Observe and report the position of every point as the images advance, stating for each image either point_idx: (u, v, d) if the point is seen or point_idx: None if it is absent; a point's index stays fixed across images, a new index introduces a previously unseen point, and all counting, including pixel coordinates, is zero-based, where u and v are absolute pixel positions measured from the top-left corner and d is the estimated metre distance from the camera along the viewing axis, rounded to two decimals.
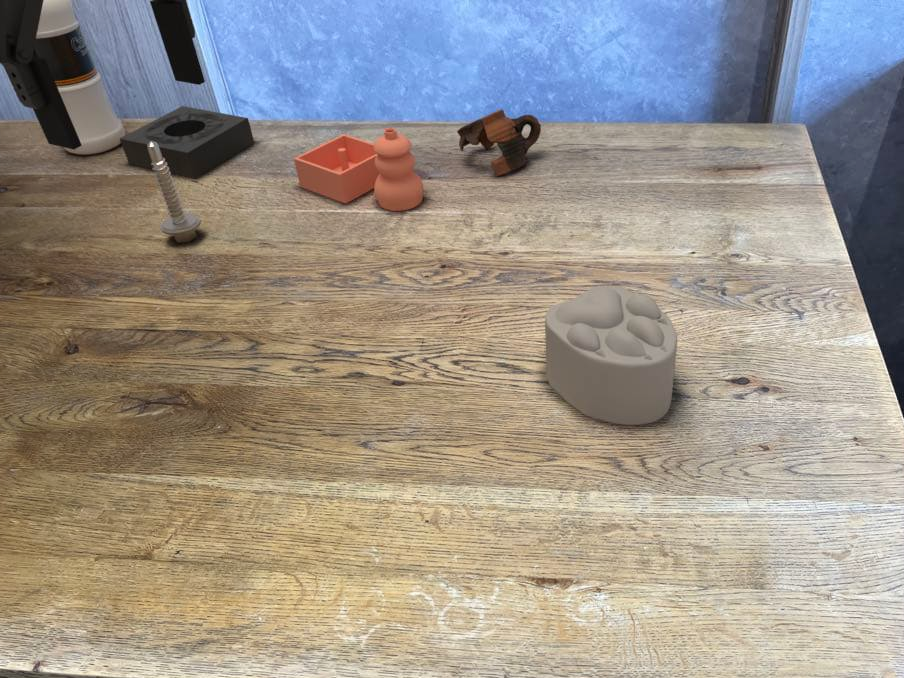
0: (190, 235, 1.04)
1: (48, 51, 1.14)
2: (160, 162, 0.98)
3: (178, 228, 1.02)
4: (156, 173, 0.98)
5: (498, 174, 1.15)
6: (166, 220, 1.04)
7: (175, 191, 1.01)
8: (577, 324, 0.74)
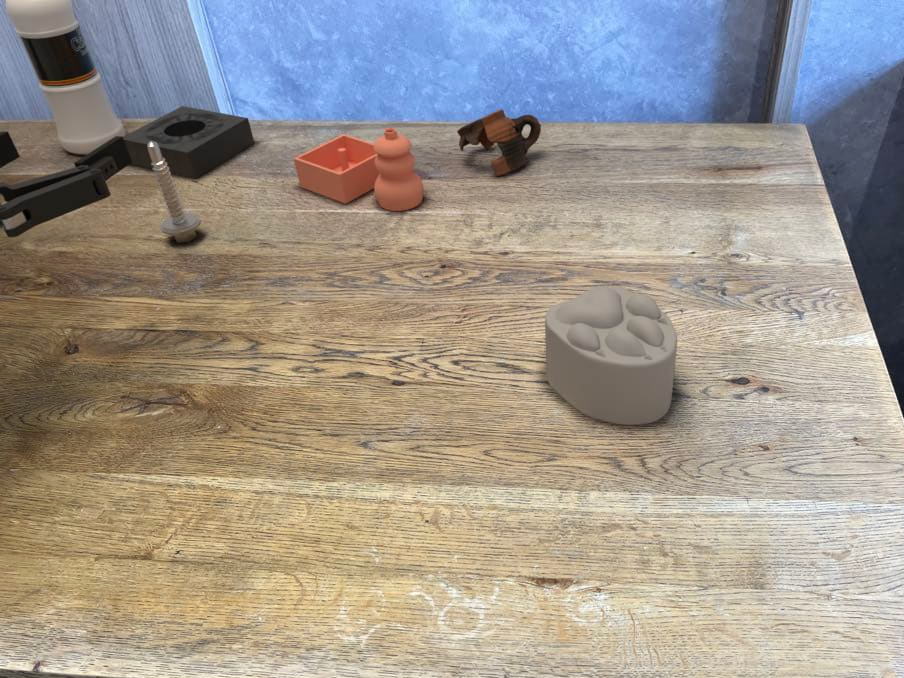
0: (190, 235, 1.04)
1: (48, 51, 1.14)
2: (160, 162, 0.98)
3: (178, 228, 1.02)
4: (156, 173, 0.98)
5: (498, 174, 1.15)
6: (166, 220, 1.04)
7: (175, 191, 1.01)
8: (577, 324, 0.74)
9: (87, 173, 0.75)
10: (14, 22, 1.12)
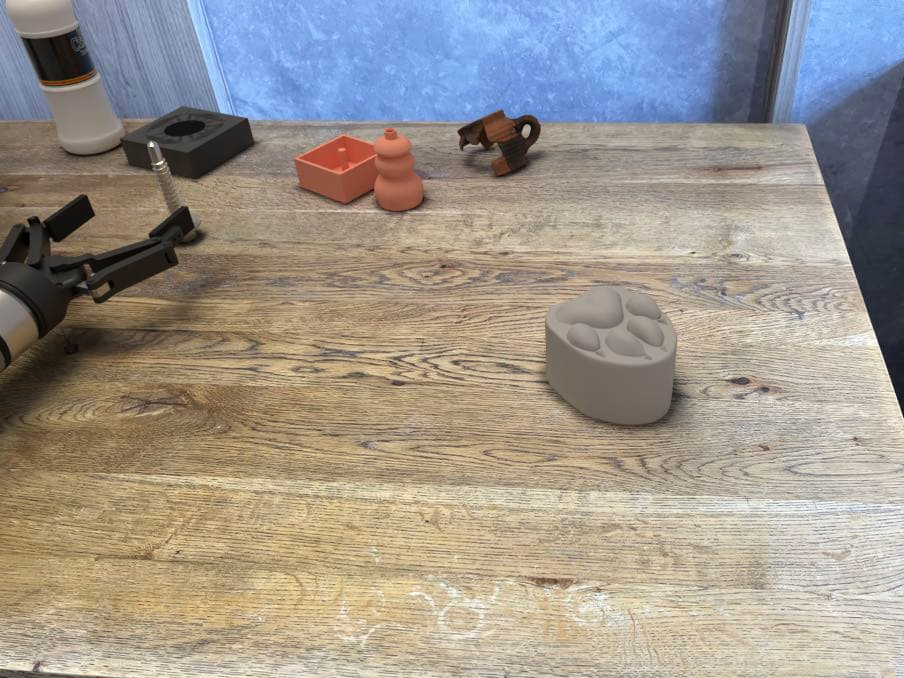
0: (190, 235, 1.04)
1: (48, 51, 1.14)
2: (160, 162, 0.98)
3: None
4: (156, 173, 0.98)
5: (498, 174, 1.15)
6: None
7: (175, 191, 1.01)
8: (577, 324, 0.74)
9: (160, 246, 0.87)
10: (14, 22, 1.12)
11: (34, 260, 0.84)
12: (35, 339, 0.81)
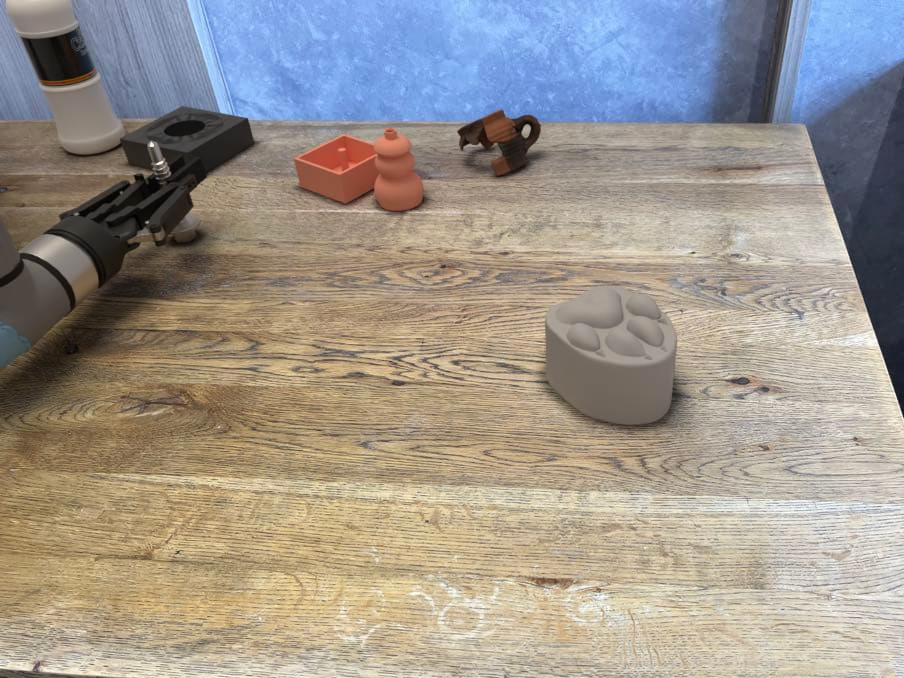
0: (190, 235, 1.04)
1: (48, 51, 1.14)
2: (160, 162, 0.98)
3: (178, 228, 1.02)
4: (156, 173, 0.98)
5: (498, 174, 1.15)
6: None
7: None
8: (577, 324, 0.74)
9: (179, 190, 0.97)
10: (14, 22, 1.12)
11: (92, 215, 0.91)
12: (96, 287, 0.87)
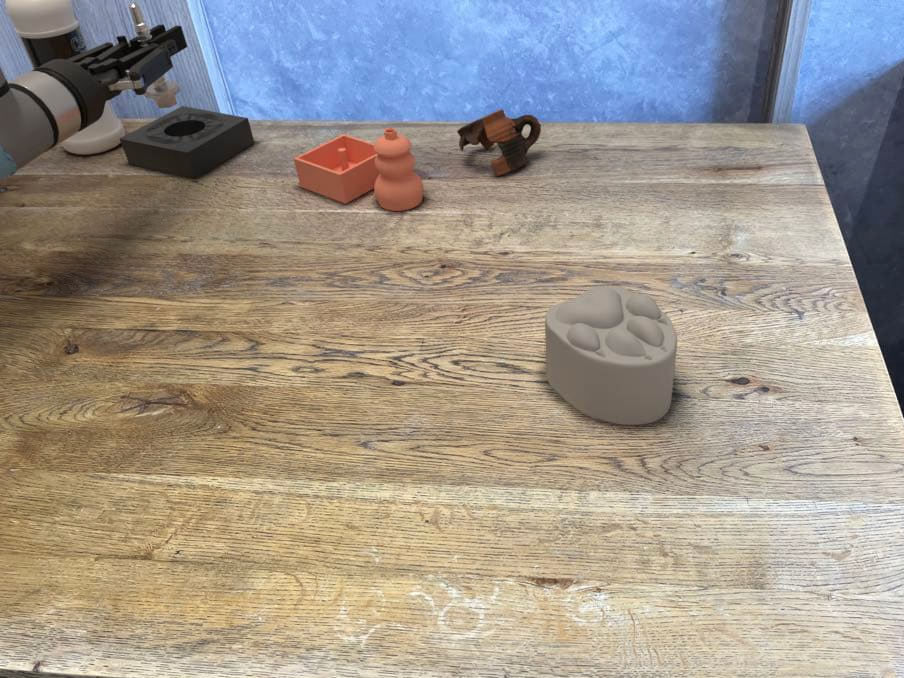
0: (171, 101, 1.10)
1: (48, 51, 1.14)
2: (141, 24, 1.04)
3: (159, 92, 1.08)
4: (138, 35, 1.04)
5: (498, 174, 1.15)
6: None
7: None
8: (577, 324, 0.74)
9: (159, 49, 1.02)
10: (14, 22, 1.12)
11: None
12: (78, 125, 0.93)
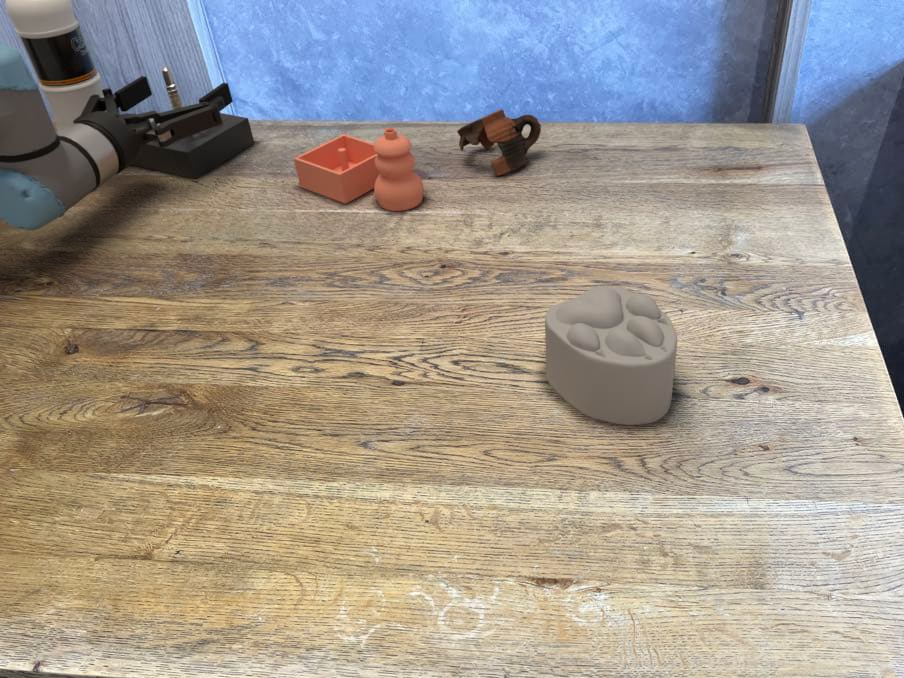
0: None
1: (48, 51, 1.14)
2: (172, 85, 1.17)
3: None
4: (169, 94, 1.17)
5: (498, 174, 1.15)
6: None
7: None
8: (577, 324, 0.74)
9: (209, 107, 1.12)
10: (14, 22, 1.12)
11: (112, 114, 1.09)
12: (116, 170, 1.05)
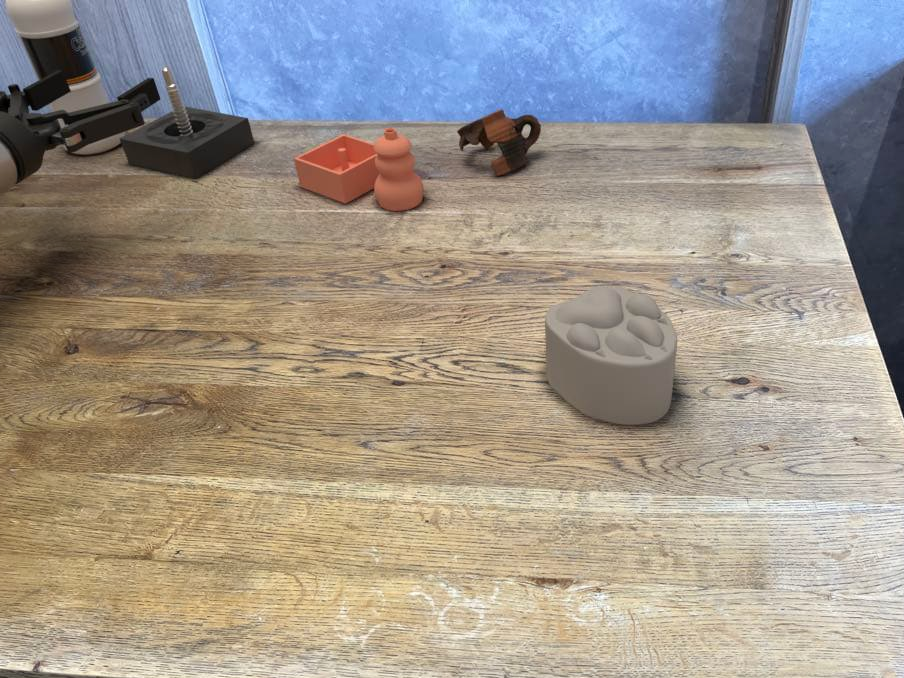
0: None
1: (48, 51, 1.14)
2: (172, 85, 1.17)
3: None
4: (169, 94, 1.17)
5: (498, 174, 1.15)
6: None
7: (185, 111, 1.20)
8: (577, 324, 0.74)
9: (127, 105, 0.97)
10: (14, 22, 1.12)
11: (13, 114, 0.94)
12: (14, 179, 0.91)
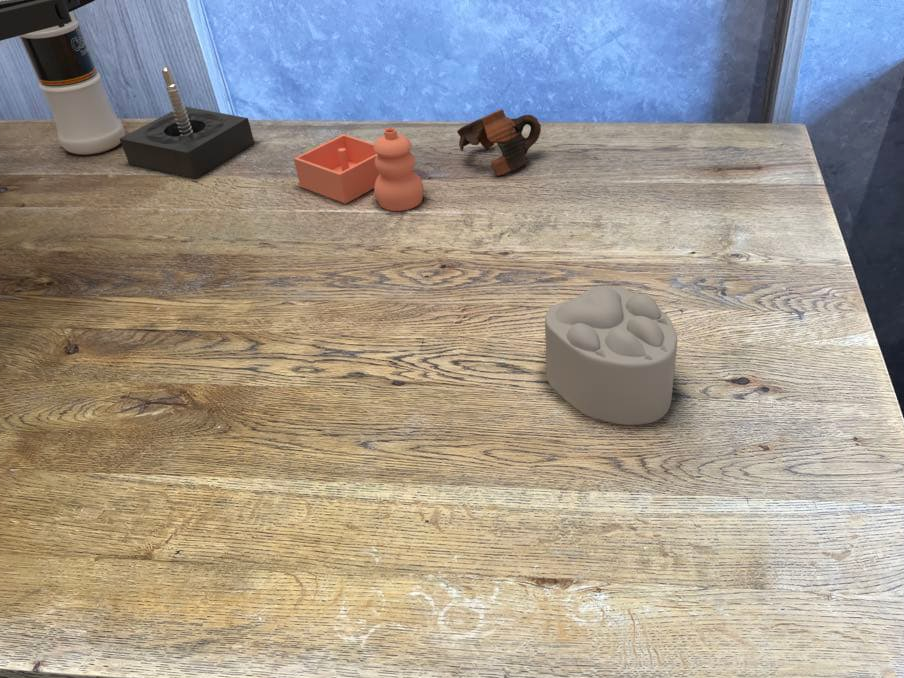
0: None
1: (48, 51, 1.14)
2: (172, 85, 1.17)
3: None
4: (169, 94, 1.17)
5: (498, 174, 1.15)
6: None
7: (185, 111, 1.20)
8: (577, 324, 0.74)
9: None
10: None
11: None
12: None
